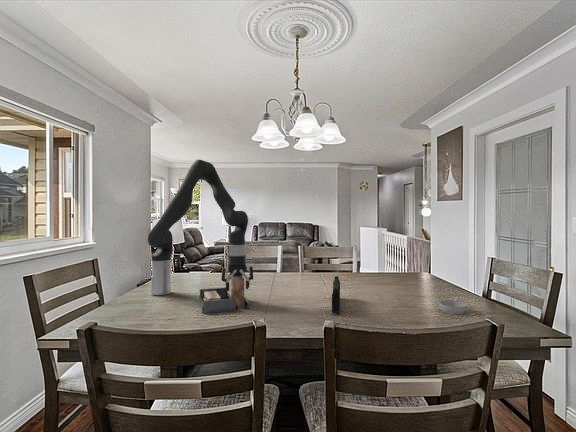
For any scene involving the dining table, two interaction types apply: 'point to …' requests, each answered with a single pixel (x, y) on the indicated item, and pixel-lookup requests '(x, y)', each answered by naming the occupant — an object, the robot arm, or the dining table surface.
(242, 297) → the walnut board
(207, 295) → the offcut stack
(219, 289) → the grey open tray
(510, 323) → the dining table surface
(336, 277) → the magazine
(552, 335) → the dining table surface
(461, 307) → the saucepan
